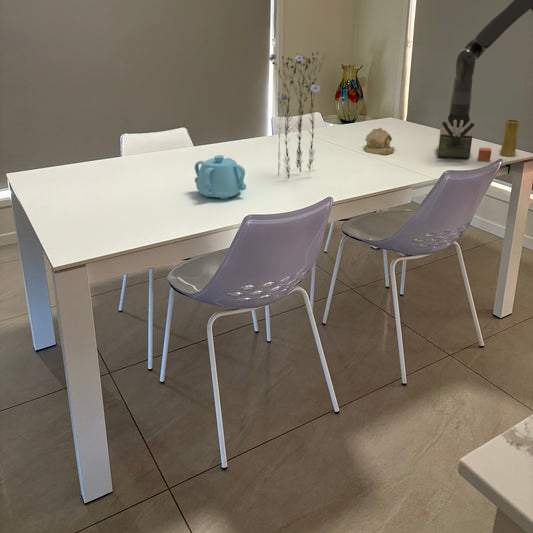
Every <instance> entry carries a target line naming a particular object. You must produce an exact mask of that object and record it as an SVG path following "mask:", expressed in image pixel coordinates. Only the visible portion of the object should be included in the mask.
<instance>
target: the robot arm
mask: <svg viewBox="0 0 533 533" xmlns="http://www.w3.org/2000/svg"><path fill="white" fill-rule="evenodd" d="M529 11H531V12H532V14H533V0H512V1H511V2H510V4H508V5H507V6H506V7H505V8H504V9H503V10H502V11H500V12H499V13H498V14H496V15H495V16H493V17H492V18H491V19H490V20H489V21H488V22H487V23H486V24H485V25H484V26H483V27H482V28H481V29H480V30H479V31H478V32H477V34H476V35H475V36H474V38H473V39H472V40H470V41H469V42H468V43H467V44H466V45H465V46H464V47H462V49H461V50H460V51H459V53H458V54H457V56H456V64H455V75H454V76H455V77H454V81H453V87H452V88H453V89H452V94H451V99H450V107H449V115H448V116H447V119H445V120H442V122H441V125H442V127H444V128H445V129H446V131H447V132H448V134H449V135H452V136H453V137H452V144H453V145H456V146H457V144H459V140H460V136H462V135H465V134H466V133H467V132H468V131H469V130H470V129H471V130H472V129H473V128H474V127H475V123H474V121H472V120H471V117H470V111H471V105H472V98H473V85H474V73H475V68H476V67H475V66H476V62H477V61H478V59H479V58H480V57H481V56H482V55H483V54H484V53H485V52H486V51H487V50H488V49H490V48H491V47H492V46H493V45H494V44H495V43H496V42H497V41H498V40H499V39H501V37H502V36H503V35H504V34H505V33H506V32H507V31H508V30H509V29H510V28H511V27H512V26H513V25H514V24H515V23H516V22H517V21H518V20H519V19H520V18H521V17H522V16H524V15H525V14H526V13H527V12H529ZM449 124H450V126H451V127H450V128H453V132H452V131H451V130H450V128H449ZM466 125H467V126H466ZM465 126H466V127H465ZM456 128H458V132H457V136H456ZM462 128H466V129H465V130H464V131H463V132H461V131H462Z"/></svg>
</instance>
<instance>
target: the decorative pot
mask: <svg viewBox="0 0 533 533" xmlns="http://www.w3.org/2000/svg"><path fill="white" fill-rule="evenodd" d="M199 165H200V166H199ZM245 169H246V168H244V166H243V165H240V164H238V163H237V161H236V160H234V159H233V158H231V157H226V158H225V157H224V155H218V154H217V155H215V156H214V157H212V158H209V159H207V160H205V161H204V160H199V161H196V163H195V164H194V171H195V174H196V176H195V178H194V183H195V186H196V190H197V192H199V193H200V194H201V195H203V196H204V198H220V200H223V199H225V200H229V198H231V197H234V196H236V195H238V194H239V193H241V191H245V190H246V189H247V184H246V183H245V181H244V180H245V176H246V170H245Z"/></svg>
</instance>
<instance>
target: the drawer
mask: <svg viewBox="0 0 533 533" xmlns="http://www.w3.org/2000/svg"><path fill="white" fill-rule="evenodd" d="M470 141H471V138H464V137H460V140H459V144H457V146H456V145H453V144H452V137H442V138H441V147H440V156H449V157H467V158H468V155H469V148H470Z"/></svg>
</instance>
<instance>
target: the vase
mask: <svg viewBox="0 0 533 533" xmlns="http://www.w3.org/2000/svg"><path fill="white" fill-rule="evenodd" d="M520 123H521V121H520V120H519V119H513V118H511V119H510V118H509V119H506V121H505V127H504V132H503V137H502V143H501V147H500V152H499V155H500V156H504V157H515V156H516V150H517V143H518V136H519V131H520V130H519V129H520Z"/></svg>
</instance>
